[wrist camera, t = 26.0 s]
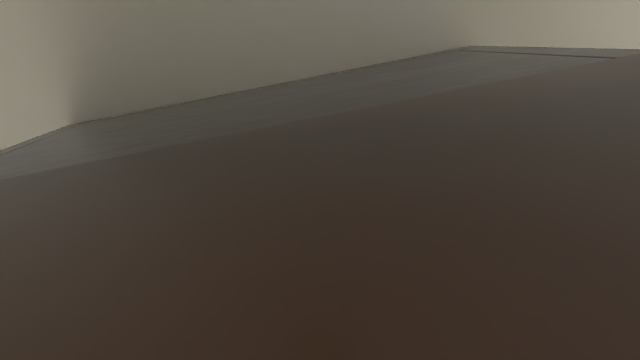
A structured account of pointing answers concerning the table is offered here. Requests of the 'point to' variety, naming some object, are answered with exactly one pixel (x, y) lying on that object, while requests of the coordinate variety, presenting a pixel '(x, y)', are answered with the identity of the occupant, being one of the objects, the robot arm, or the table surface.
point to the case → (288, 103)
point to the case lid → (347, 235)
